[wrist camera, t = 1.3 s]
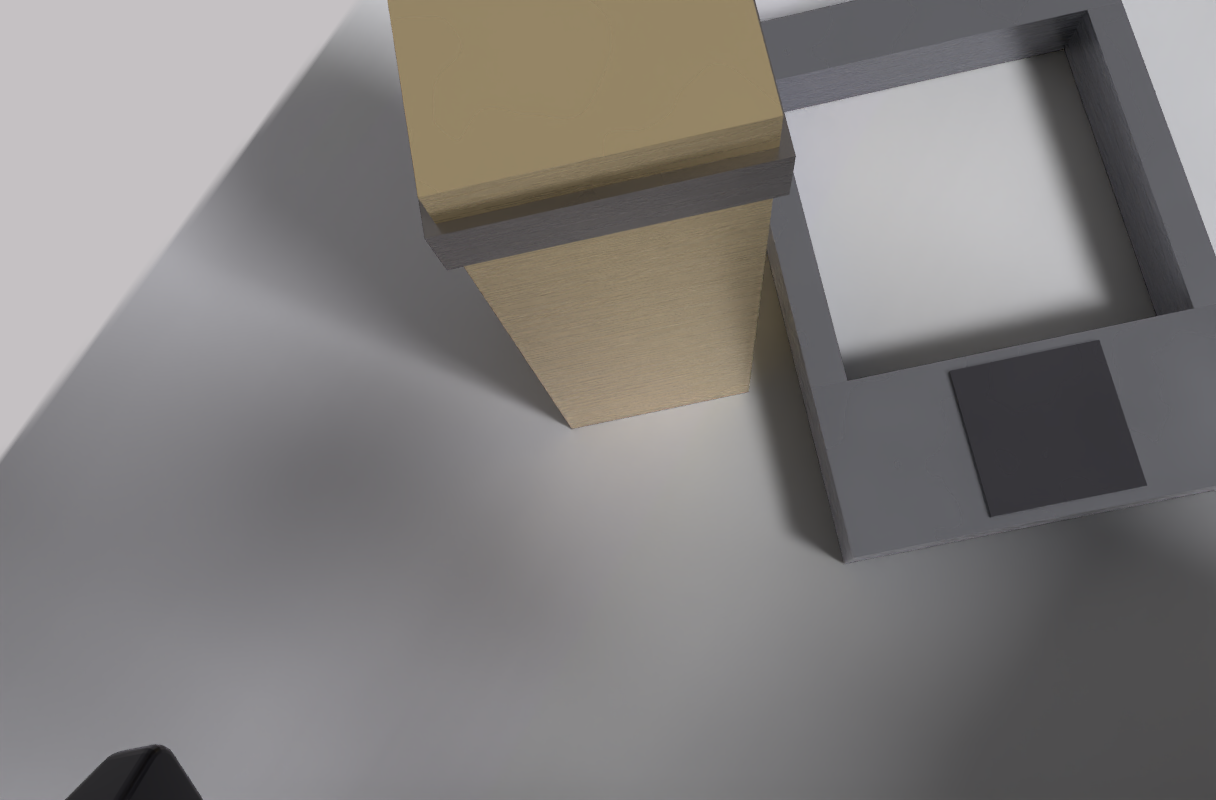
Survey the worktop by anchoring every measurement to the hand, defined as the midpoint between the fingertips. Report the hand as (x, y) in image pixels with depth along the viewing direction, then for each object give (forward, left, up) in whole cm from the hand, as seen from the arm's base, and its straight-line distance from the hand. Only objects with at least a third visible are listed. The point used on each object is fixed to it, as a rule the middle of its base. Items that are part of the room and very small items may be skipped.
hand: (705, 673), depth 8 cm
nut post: (+6, +4, -13) cm, 15 cm away
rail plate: (+11, -1, -13) cm, 17 cm away
